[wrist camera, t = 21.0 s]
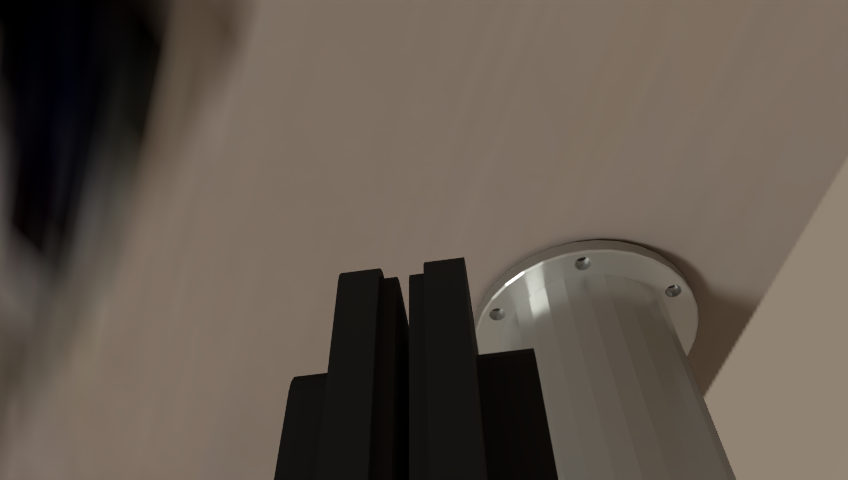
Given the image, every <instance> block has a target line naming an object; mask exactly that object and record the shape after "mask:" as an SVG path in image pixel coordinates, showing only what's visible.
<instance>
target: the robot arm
mask: <svg viewBox="0 0 848 480" xmlns="http://www.w3.org/2000/svg"><path fill="white" fill-rule="evenodd" d="M698 325H699V317H698V307H697V304H696V301H695V298H694V295H693V293H692V291H691V289H690V287H689V285H688V283H687V281H686V279H685V277H684V276H683V275H682V274H681V272H680V271H679V270H678V269H677V268H676V267H675V266H674V265H673V264H672V263H671V262H669V261H668V260H666V259H665V258H664V257H662V256H661V255H659V254H658V253H655V252H653V251H651V250H648V249H646V248H643V247H641V246H638V245H634V244H629V243H624V242H620V241H605V240H592V241H582V242H573V243H569V244H565V245H561V246H557V247H553V248H550V249H547V250H545V251H543V252H540V253H538V254H535V255H533V256H531V257H529V258H527V259H526V260H524V261H522V262H521V263H519V264H517V265H516V266H514V267H513V268H511V269H510V270H509V271H508V272H507V273H505V274H504V275H503V276H502V277H501V278H500V279H499V280H497V281H496V283H495V284H494V285H493V286H492V288H491V289H490V290H489V291H488V293H487V294H486V295H485V297H484V299H483V301H482V303H481V305H480V307H479V309H478V311H477V314H476V318H475V323H474V318H473V312H472V305H471V298H470V292H469V285H468V279H467V272H466V266H465V260H464V257H463V258H455V259H448V260H440V261H432V262H425V263H424V274H416V275H410V276H409V325H408V320H407V315H406V311H405V306H404V301H403V297H402V292H401V287H400V283H399V280H398V277H393V278H385V279H384V275H383V272H382V270H381V269H380V268H378V269H371V270H363V271H355V272H348V273H341V274H340V275H339V279H338V287H337V296H336V305H335V313H334V322H333V330H332V339H331V347H330V356H329V365H328V373H323V374H315V375H306V376H298V377H294V378H293V380H292V381H291V385H290V389H289V393H288V399H287V405H286V411H285V417H284V423H283V429H282V435H281V441H280V447H279V453H278V459H277V465H276V471H275V477H274V480H736V478H735V475H734V473H733V471H732V468H731V466H730V463H729V461H728V458H727V456H726V453H725V451H724V448H723V446H722V443H721V441H720V438H719V436H718V433H717V431H716V428H715V426H714V423H713V421H712V419H711V416H710V413H709V411H708V408H707V406H706V403H705V401H704V398H703V396H702V393H701V391H700V388H699V386H698V383H697V381H696V378H695V376H694V373H693V371H692V369H691V366H690V364H689V361H688V359H687V356H688V355H689V353H690V351H691V348H692V346H693V344H694V342H695V340H696V335H697V330H698Z"/></svg>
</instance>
